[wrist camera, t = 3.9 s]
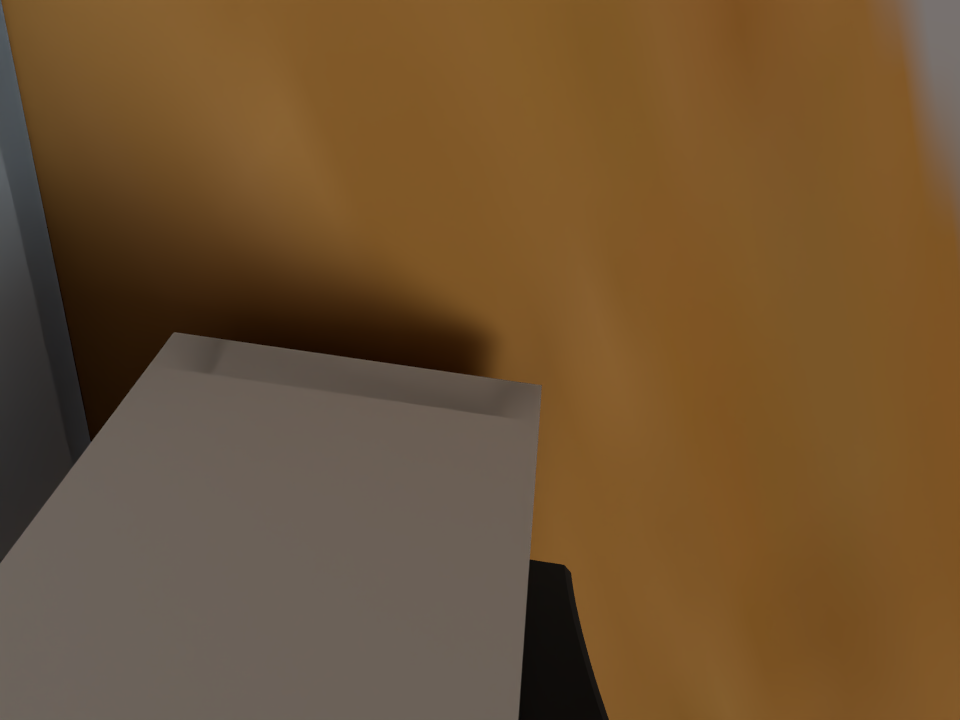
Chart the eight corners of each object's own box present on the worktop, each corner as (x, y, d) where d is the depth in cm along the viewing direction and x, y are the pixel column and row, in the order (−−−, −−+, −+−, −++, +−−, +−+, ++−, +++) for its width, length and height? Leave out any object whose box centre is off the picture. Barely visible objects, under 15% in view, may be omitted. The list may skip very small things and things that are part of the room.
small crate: (498, 626, 14) (452, 1078, 9) (202, 581, 14) (1, 1004, 9) (541, 385, 11) (509, 849, 6) (173, 332, 11) (-138, 746, 7)
